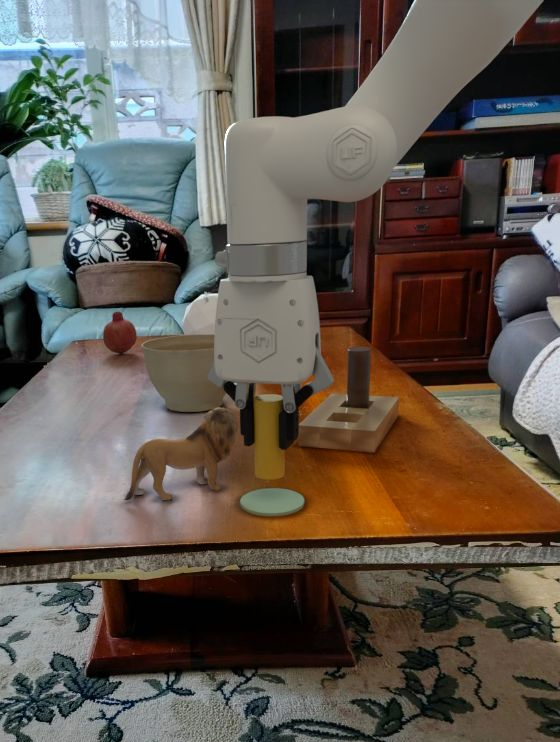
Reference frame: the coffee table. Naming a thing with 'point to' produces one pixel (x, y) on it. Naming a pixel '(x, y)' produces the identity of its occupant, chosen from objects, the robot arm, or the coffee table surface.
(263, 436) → the yellow peg
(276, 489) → the coaster
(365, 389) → the walnut peg
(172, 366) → the planter bowl
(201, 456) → the lion figurine
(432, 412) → the coffee table surface
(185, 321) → the geodesic sphere
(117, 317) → the fruit
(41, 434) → the coffee table surface
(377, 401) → the stand
